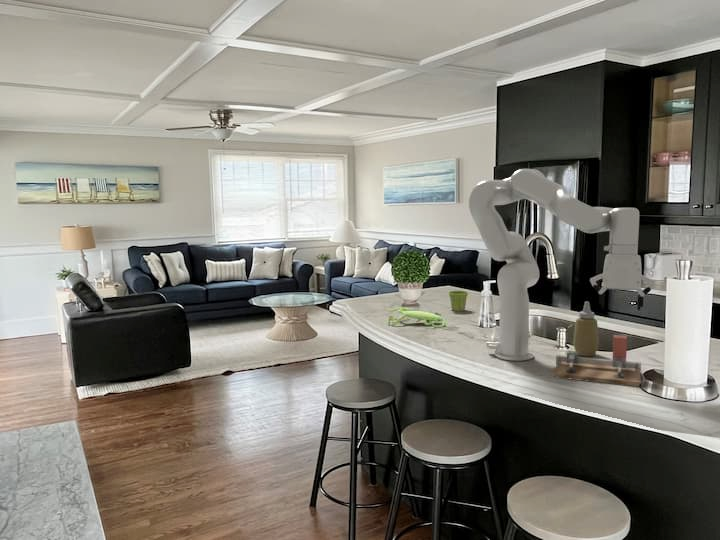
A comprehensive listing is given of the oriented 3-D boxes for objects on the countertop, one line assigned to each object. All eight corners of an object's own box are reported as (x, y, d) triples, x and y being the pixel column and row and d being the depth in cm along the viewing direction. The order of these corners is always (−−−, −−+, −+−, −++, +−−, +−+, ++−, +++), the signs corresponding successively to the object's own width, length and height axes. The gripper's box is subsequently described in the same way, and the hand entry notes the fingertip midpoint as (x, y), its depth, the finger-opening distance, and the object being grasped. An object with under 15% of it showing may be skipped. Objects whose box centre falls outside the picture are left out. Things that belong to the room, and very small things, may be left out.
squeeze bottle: (602, 353, 189) (603, 301, 186) (593, 359, 183) (595, 304, 180) (578, 350, 194) (579, 298, 192) (568, 355, 188) (570, 302, 186)
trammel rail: (553, 370, 168) (554, 357, 167) (556, 362, 176) (556, 349, 175) (641, 379, 158) (642, 365, 158) (640, 370, 166) (640, 356, 166)
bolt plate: (553, 377, 165) (553, 373, 165) (558, 364, 178) (558, 360, 178) (640, 386, 156) (641, 382, 156) (638, 372, 168) (639, 368, 168)
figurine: (391, 317, 256) (391, 305, 255) (450, 319, 248) (450, 307, 248) (381, 326, 239) (380, 313, 238) (443, 329, 231) (443, 316, 230)
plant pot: (467, 312, 262) (467, 294, 261) (447, 311, 264) (447, 293, 263) (469, 308, 271) (469, 290, 270) (449, 308, 273) (449, 290, 272)
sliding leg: (612, 375, 161) (613, 341, 160) (612, 366, 170) (613, 334, 168) (626, 376, 160) (627, 343, 159) (625, 367, 168) (626, 335, 167)
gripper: (590, 250, 163) (588, 308, 165) (657, 252, 156) (654, 312, 158) (591, 248, 170) (589, 304, 172) (655, 249, 163) (652, 307, 165)
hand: (620, 308), depth 165 cm, fingers open, 9 cm apart
